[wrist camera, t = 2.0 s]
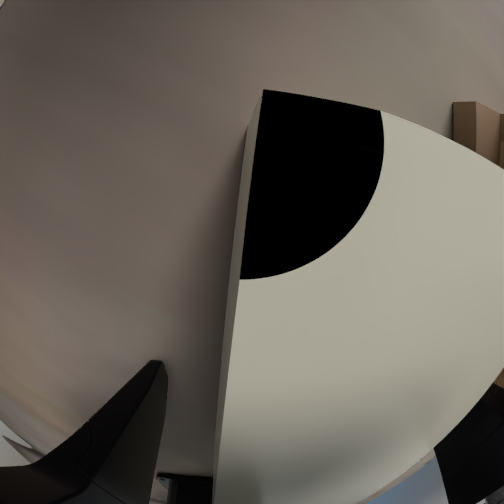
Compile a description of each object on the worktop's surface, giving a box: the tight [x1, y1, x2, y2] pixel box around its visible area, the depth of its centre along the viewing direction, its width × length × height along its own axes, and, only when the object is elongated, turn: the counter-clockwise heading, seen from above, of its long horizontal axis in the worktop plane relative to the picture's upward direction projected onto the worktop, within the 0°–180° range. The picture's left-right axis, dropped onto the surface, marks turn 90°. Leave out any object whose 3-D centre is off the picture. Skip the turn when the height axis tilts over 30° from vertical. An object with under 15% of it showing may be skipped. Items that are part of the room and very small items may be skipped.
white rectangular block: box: [212, 89, 504, 504], centre depth 7 cm, size 14×5×6 cm, turn 173°
